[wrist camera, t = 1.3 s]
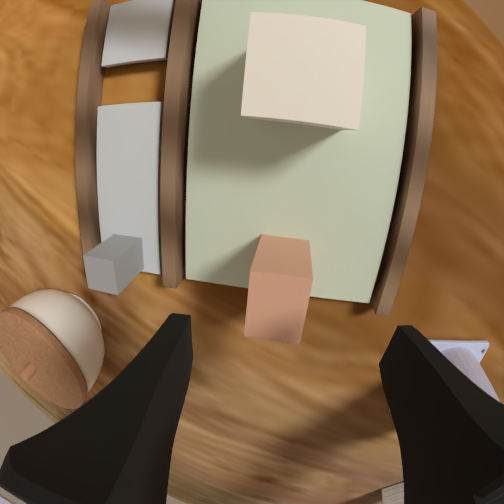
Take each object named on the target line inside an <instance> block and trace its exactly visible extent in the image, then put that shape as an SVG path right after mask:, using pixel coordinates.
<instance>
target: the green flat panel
mask: <svg viewBox="0 0 504 504" xmlns="http://www.w3.org/2000/svg"><path fill="white" fill-rule="evenodd" d="M251 12H268V13H284V14H296V15H305V16H314V17H321V18H328V19H334V20H340V21H346V22H351V23H356V24H361V25H365V26H366V48H365V66H364V80H363V93H362V104H361V114H360V123H359V130H336V129H330V128H324V127H317V126H310V125H302V124H294V123H285V122H276V121H265V120H255V119H251V118H248V117H244V116H241V107H242V96H243V84H244V74H245V63H246V53H247V42H248V33H249V23H250V13H251ZM411 47H412V27H411V14H410V13H407V12H404V11H401V10H397V9H394V8H390V7H387V6H383V5H379V4H375V3H371V2H367V1H362V0H202V7H201V14H200V21H199V29H198V37H197V45H196V54H195V63H194V73H193V84H192V96H191V108H190V123H189V139H188V159H187V185H186V279H190V280H196V281H203V282H209V283H216V284H222V285H229V286H236V287H243V288H248V299H247V310H246V321H245V332H244V337H251V338H258V339H265V340H272V341H280V342H288V343H296V344H299V343H300V339H301V335H302V330H303V326H304V321H305V316H306V312H307V307H308V302H309V297H310V296H311V297H319V298H327V299H336V300H345V301H354V302H363V303H369V302H370V298H371V295H372V292H373V288H374V285H375V281H376V278H377V274H378V271H379V267H380V263H381V259H382V255H383V251H384V247H385V243H386V239H387V235H388V231H389V226H390V222H391V217H392V212H393V207H394V202H395V197H396V192H397V186H398V181H399V175H400V169H401V163H402V156H403V149H404V141H405V134H406V125H407V116H408V105H409V92H410V77H411Z"/></svg>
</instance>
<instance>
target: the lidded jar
mask: <svg viewBox="0 0 504 504" xmlns="http://www.w3.org/2000/svg"><path fill="white" fill-rule="evenodd" d="M0 347H1V350H2V352H3V354H4V355H5V357H6V359H7V360H8V362H9V363H10V365H11V366H12V368H13V369H14V370H15V372H16V373H17V374H18V375H19V376H20V378H21V379H22V380H23V381H24V382H25V383H26V384H27V385H28V386H29V387H30V388H31V389H33V390H34V391H35V392H36V393H37V394H39V395H40V396H42V397H43V398H44V399H46V400H48V401H49V402H51V403H53V404H55V405H57V406H60V407H62V408H66V409H76V408H79V407H80V406H81V405H82V404H83V402H84V401H85V399H86V398H87V394H88V393H89V391H90V390H91V388H92V387H93V385H94V383H95V382H96V380H97V378H98V376H99V373H100V370H101V367H102V364H103V360H104V340H103V335H102V327H101V323H100V321H99V318H98V316H97V315H96V313H95V311H94V310H93V309H92V307H91V306H90V305H89V304H88V303H87V302H86V301H85V300H83V299H82V298H81V297H79V296H77V295H75V294H73V293H67V292H63V291H60V290H55V289H44V290H38V291H35V292H32V293H29V294H28V295H26V296H24V297H22V298H20V299H19V300H17V301H16V302H14V303H13V304H12V305H11V306H9V307H7V308H5V309H4V310H2V311H1V312H0Z"/></svg>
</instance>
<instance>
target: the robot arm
mask: <svg viewBox="0 0 504 504" xmlns="http://www.w3.org/2000/svg"><path fill="white" fill-rule="evenodd" d="M488 347H489V343H488V341H462V340H428V339H427V338H425V337H424V336H423V335H422V334H421V333H420V332H419V331H418V330H417V329H415V328H414V327H413V326H412V325H402V326H397V329H396V331H395V333H394V335H393V337H392V339H391V341H390V343H389V345H388V347H387V349H386V351H385V353H384V355H383V357H382V359H381V361H380V363H379V367H380V373H381V379H382V384H383V389H384V392H385V396H386V399H387V402H388V405H389V412H391V415H392V418H393V422H394V425H395V429H396V432H397V436H398V440H399V444H400V450H401V458H402V466H403V479H404V504H504V405H503V404H502V403H500V401H499V399H498V397H497V395H496V393H495V391H494V389H493V387H492V385H491V383H490V382H489V380H488V378H487V376H486V374H485V372H484V371H483V369H482V367H481V365H480V364H479V363H480V361H481V359H482V358H483V356H484V354H485V352H486V351H487V349H488ZM192 360H193V350H192V334H191V316H190V315H184V314H176V313H172V314H170V315H169V316H168V318H167V319H166V320H165V322H164V323H163V324H162V326H161V327H160V328H159V330H158V331H157V332H156V333H155V335H154V336H153V337H152V338H151V340H150V341H149V342H148V343H147V344H146V345H145V347H144V348H143V349H142V350H141V351H140V352H139V354H138V355H137V356H136V357H135V358H134V359H133V360H132V361H131V362H130V363H129V364H128V365H127V366H126V367H125V368H124V369H123V370H122V372H121V373H120V374H119V375H118V376H117V377H116V378H115V379H113V380H112V381H111V382H110V383H109V384H108V385H107V386H106V387H105V388H104V389H102V390H101V391H100V392H99V393H98V394H97V395H95V396H94V397H93V398H92V399H90V400H89V401H88V402H86V403H85V404H84V405H83V406H81V407H80V408H79V409H77V410H76V411H74V412H73V413H72V414H70V415H69V416H67V417H66V418H64V419H62V420H61V421H59V422H57V423H56V424H54V425H53V426H51V427H49V428H48V429H46V430H44V431H42V432H41V433H39V434H37V435H34V436H32V437H30V438H28V439H26V440H24V441H22V442H20V443H18V444H15V445H13V446H11V447H10V448H9V450H8V452H7V454H6V456H5V459H4V461H3V464H2V466H1V469H0V487H2V488H3V489H4V490H6V491H7V492H9V493H11V494H12V495H14V496H15V497H17V498H19V499H20V500H22V501H24V502H26V503H27V504H166V497H167V487H168V478H169V469H170V462H171V454H172V447H173V442H174V438H175V434H176V430H177V426H178V422H179V419H180V415H181V411H182V408H183V404H184V400H185V396H186V393H187V389H188V385H189V380H190V374H191V367H192ZM0 504H15V503H13V502H12V501H10V500H9V499H7V498H5V497H4V496H2V495H1V494H0Z"/></svg>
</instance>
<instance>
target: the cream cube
mask: <svg viewBox="0 0 504 504" xmlns="http://www.w3.org/2000/svg"><path fill="white" fill-rule="evenodd" d="M365 48H366V26H365V25H361V24H356V23H351V22H346V21H340V20H334V19H328V18H321V17H314V16H305V15H296V14H284V13H268V12H251V13H250V23H249V33H248V42H247V53H246V63H245V74H244V84H243V96H242V107H241V116H244V117H248V118H251V119H255V120H265V121H276V122H285V123H294V124H302V125H310V126H317V127H324V128H330V129H336V130H359V123H360V114H361V104H362V93H363V80H364V66H365Z"/></svg>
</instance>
